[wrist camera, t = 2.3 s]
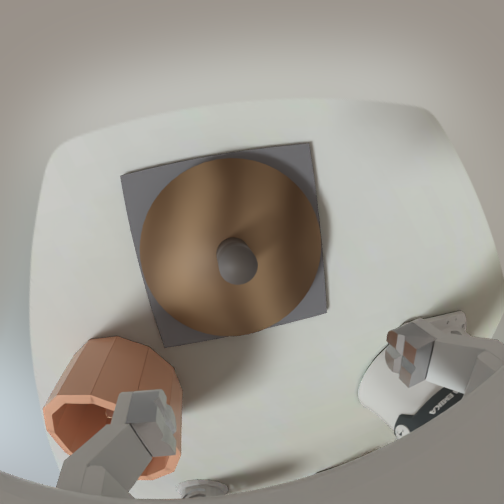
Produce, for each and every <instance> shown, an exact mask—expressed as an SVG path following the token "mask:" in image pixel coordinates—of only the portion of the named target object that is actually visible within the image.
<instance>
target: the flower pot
mask: <svg viewBox="0 0 504 504" xmlns="http://www.w3.org/2000/svg"><path fill="white" fill-rule="evenodd" d="M155 389H162V390H163V391H164V393H165V395H166V397H167V401H166V403H167V404H168V405H170V406H171V407H172V409H173V412H174V415H175V419H176V432H175V433H174V434H173V436H174V437H175V439H176V455H171V456H160V457H152V460H151V461H150V463H149V464H148V466H147V467H146V468H145V470H144V471H143V473H142V474H141V475H140V477H139V478H138V480H154V479H157V478H159V477H162V476H164V475H167V474H169V473H172V472H174V471H175V468H176V466H177V464H178V461H179V459H180V456H181V427H182V396H183V390H182V388H181V385H180V383H179V380H178V378H177V375H176V373H175V370H174V368H173V367H172V366H171V365H170V364H169V363H168V362H166V361H165V360H164V359H163V358H162V357H160V356H159V355H158V354H157V353H156V352H155V351H153V350H152V349H151V348H150V347H149V346H145V345H142V344H139V343H136V342H133V341H130V340H127V339H124V338H121V337H119V336H114V337H106V338H98V339H90V340H88V341H87V342H86V344H85V345H84V346H83V347H82V348H81V349H80V350H79V351H78V352H77V353H76V354H75V355H74V356H73V358H72V359H71V361H70V363H69V364H68V366H67V367H66V369H65V371H64V372H63V374H62V376H61V377H60V379H59V381H58V383H57V384H56V386H55V388H54V390H53V391H52V393H51V395H50V397H49V398H48V400H47V402H46V404H45V406H44V408H43V413H44V419H45V424H46V429H47V431H48V432H49V434H50V435H51V436H52V437H53V439H54V440H55V441H56V442H57V443H58V445H59V446H60V447H61V448H62V449H63V450H64V452H66V453H67V454H69V455H70V456H71V455H72V454H73V453H74V452H75V451H76V450H78V449H79V448H80V447H81V446H82V445H83V444H85V443H86V442H87V441H88V440H89V439H90V438H92V437H93V436H94V435H95V434H96V433H97V432H99V431H100V430H101V429H102V428H103V427H104V426H105V425H107V424H111V420H112V418H109V417H107V416H106V414H105V412H106V410H107V409H110V410H113V411H114V410H115V406H116V403H117V400H118V396H119V394H120V393H121V392H131V391H143V390H155ZM106 408H107V409H106Z"/></svg>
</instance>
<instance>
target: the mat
mask: <svg viewBox="0 0 504 504" xmlns="http://www.w3.org/2000/svg"><path fill="white" fill-rule="evenodd" d="M226 158H239V159H247V160H253V161H257V162H260V163H263V164H266V165H268V166H270V167H272V168H274V169H276V170H278V171H280V172H281V173H283V174H284V175H286V176H287V177H288V178H290V179H291V180H292V181H293V182H294V183H295V184H296V185H297V186H298V187H299V188H300V189H301V190H302V192H303V193H304V194H305V196H306V197H307V199H308V200H309V202H310V203H311V206H312V208H313V210H314V212H315V214H316V217H317V221H318V224H319V229H320V222H319V213H318V204H317V196H316V188H315V181H314V173H313V166H312V160H311V153H310V147H309V144H297V145H287V146H278V147H269V148H261V149H253V150H246V151H239V152H232V153H226V154H220V155H214V156H208V157H203V158H197V159H192V160H187V161H182V162H177V163H172V164H168V165H163V166H159V167H154V168H150V169H146V170H142V171H137V172H133V173H130V174H126V175H122V176H120V177H121V183H122V189H123V194H124V200H125V205H126V210H127V215H128V220H129V224H130V229H131V233H132V238H133V242H134V246H135V250H136V254H137V258H138V262H139V266H140V270H141V273H142V277H143V281H144V284H145V288H146V291H147V295H148V298H149V301H150V304H151V308H152V311H153V314H154V317H155V320H156V323H157V326H158V329H159V332H160V335H161V338H162V341H163V344H164V347H165V348H166V347H172V346H179V345H185V344H191V343H196V342H202V341H207V340H213V339H218V338H223V337H228V336H217V335H211V334H206V333H203V332H200V331H197V330H194V329H192V328H190V327H188V326H185V325H184V324H182V323H180V322H179V321H177V320H176V319H174V318H173V317H172V316H171V315H170V314H168V313H167V312H166V311H165V310H164V309H163V308H162V306H161V305H160V304H159V303H158V302H157V300H156V299H155V297H154V296H153V294H152V293H151V291H150V289H149V287H148V285H147V283H146V280H145V277H144V274H143V271H142V266H141V261H140V237H141V232H142V228H143V223H144V221H145V218H146V215H147V213H148V211H149V209H150V207H151V205H152V203H153V202H154V200H155V199H156V197H157V196H158V195H159V193H160V192H161V191H162V190H163V189H164V188H165V187H166V186H167V185H168V184H169V183H170V182H171V181H172V180H173V179H174V178H176V177H177V176H178V175H180V174H181V173H183V172H185V171H186V170H188V169H190V168H192V167H194V166H197V165H199V164H202V163H204V162H208V161H212V160H216V159H226ZM320 235H321V231H320ZM324 313H327V309H326V292H325V277H324V264H323V252H322V241H321V255H320V262H319V266H318V270H317V273H316V276H315V279H314V281H313V283H312V285H311V287H310V289H309V291H308V292H307V294H306V295H305V297H304V298H303V300H302V301H301V302H300V303H299V304H298V306H297V307H296V308H295V309H294V310H293V311H292V312H290V313H289V314H288V315H287V316H286V317H284V318H283V319H282V320H280V321H279V322H277V323H275V324H274V325H272V326H270V327H274V326H278V325H282V324H286V323H290V322H294V321H298V320H302V319H306V318H310V317H313V316H317V315H321V314H324ZM268 328H269V327H268Z"/></svg>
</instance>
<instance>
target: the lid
mask: <svg viewBox="0 0 504 504" xmlns="http://www.w3.org/2000/svg"><path fill="white" fill-rule="evenodd" d="M320 255H321V235H320V229H319V224H318V221H317V217H316V214H315V212H314V210H313V208H312V206H311V203H310V202H309V200H308V199H307V197H306V196H305V194H304V193H303V192H302V190H301V189H300V188H299V187H298V186H297V185H296V184H295V183H294V182H293V181H292V180H291V179H290V178H288V177H287V176H286V175H284V174H283V173H281V172H280V171H278V170H276V169H274V168H272V167H270V166H268V165H266V164H263V163H260V162H257V161H253V160H247V159H239V158H226V159H216V160H212V161H208V162H204V163H202V164H199V165H197V166H194V167H192V168H190V169H188V170H186V171H185V172H183V173H181V174H180V175H178V176H177V177H176V178H174V179H173V180H172V181H171V182H170V183H169V184H168V185H167V186H166V187H165V188H164V189H163V190H162V191H161V192H160V193H159V195H158V196H157V197H156V199H155V200H154V202H153V203H152V205H151V207H150V209H149V211H148V213H147V215H146V218H145V221H144V223H143V228H142V232H141V237H140V261H141V266H142V271H143V274H144V277H145V280H146V283H147V285H148V287H149V289H150V291H151V293H152V294H153V296H154V297H155V299H156V300H157V302H158V303H159V304H160V305H161V306H162V308H163V309H164V310H165V311H166V312H167V313H168V314H170V315H171V316H172V317H173V318H174V319H176V320H177V321H179V322H180V323H182V324H184V325H185V326H188V327H190V328H192V329H194V330H197V331H200V332H203V333H206V334H211V335H217V336H240V335H246V334H251V333H254V332H258V331H261V330H263V329H265V328H268V327H270V326H272V325H274V324H275V323H277V322H279V321H280V320H282V319H283V318H284V317H286V316H287V315H288V314H289V313H290V312H292V311H293V310H294V309H295V308H296V307H297V306H298V304H299V303H300V302H301V301H302V300H303V298H304V297H305V295H306V294H307V292H308V291H309V289H310V287H311V285H312V283H313V281H314V279H315V276H316V273H317V270H318V266H319V262H320Z"/></svg>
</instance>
